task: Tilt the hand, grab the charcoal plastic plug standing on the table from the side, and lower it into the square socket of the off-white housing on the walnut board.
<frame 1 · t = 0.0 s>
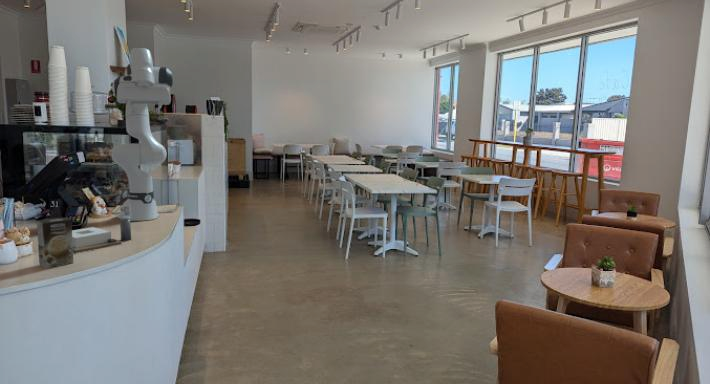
hand: (145, 112, 194), 54 cm above the table, tool tilted 30°, fingers open, 8 cm apart
icecream: (49, 232, 219), on the table
coffee box: (56, 264, 171), on the table
plug: (126, 239, 207), on the table
socket board: (85, 244, 199), on the table
socket housing: (85, 244, 199), resting on socket board
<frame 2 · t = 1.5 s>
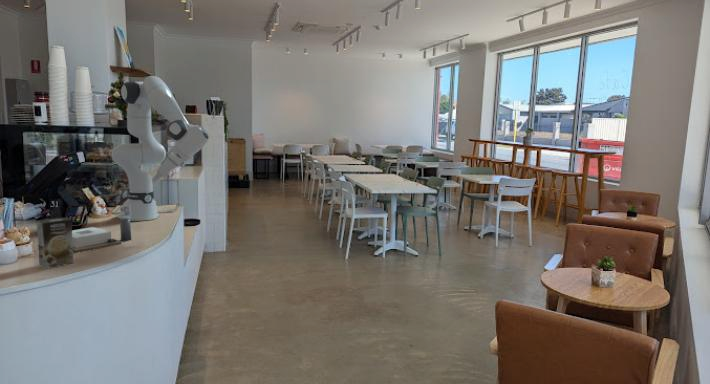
hand: (154, 180, 206), 26 cm above the table, tool tilted 45°, fingers open, 8 cm apart
nothing on the table moved.
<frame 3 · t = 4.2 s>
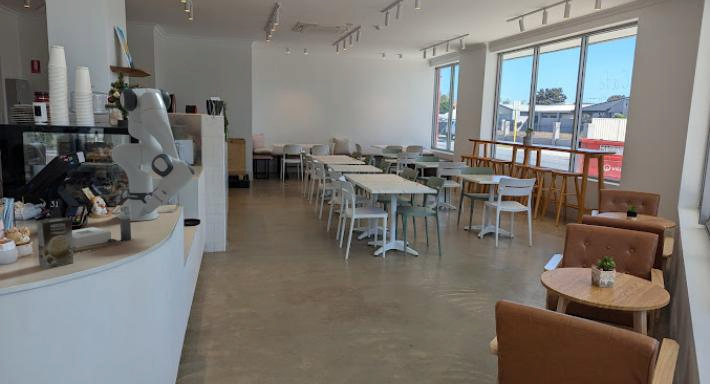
hand: (140, 215, 207), 10 cm above the table, tool tilted 45°, fingers open, 8 cm apart
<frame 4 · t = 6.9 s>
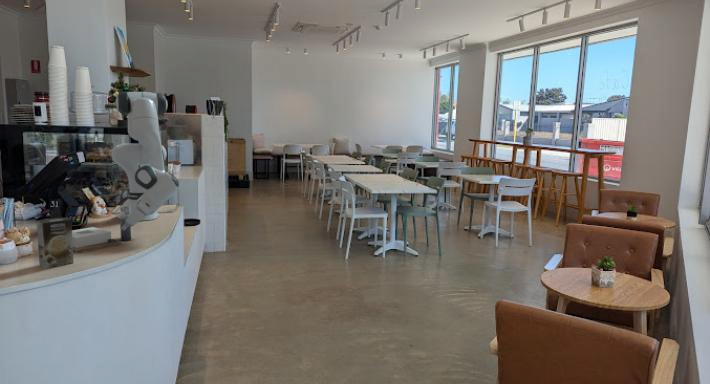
hand: (123, 227, 206), 5 cm above the table, tool tilted 45°, fingers closed on plug, 4 cm apart
plug: (126, 239, 207), on the table, touching gripper
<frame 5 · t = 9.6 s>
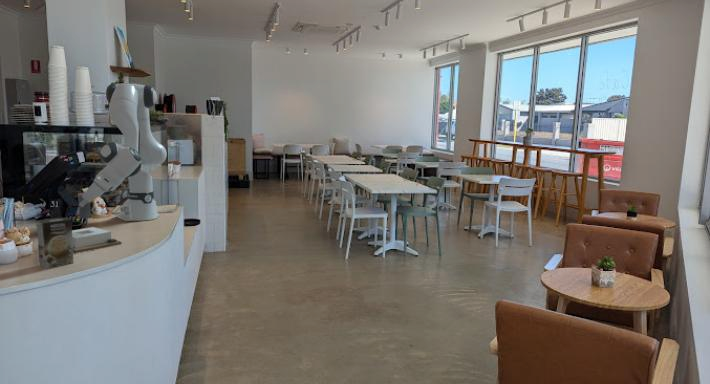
hand: (82, 204, 196), 17 cm above the table, tool tilted 45°, fingers closed on plug, 4 cm apart
plug: (85, 217, 197), point 11 cm above the table, touching gripper
when the fingers open (9 cm above the table, at t = 12.2 s): plug drops 2 cm, resting on socket board.
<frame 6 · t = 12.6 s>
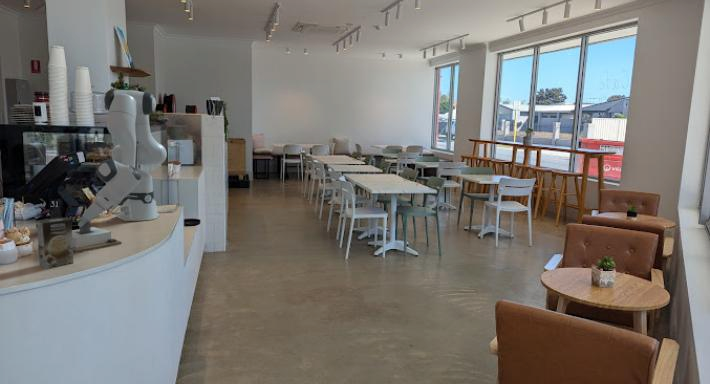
hand: (82, 223, 197), 9 cm above the table, tool tilted 45°, fingers open, 8 cm apart
plug: (85, 241, 199), point 1 cm above the table, touching socket board
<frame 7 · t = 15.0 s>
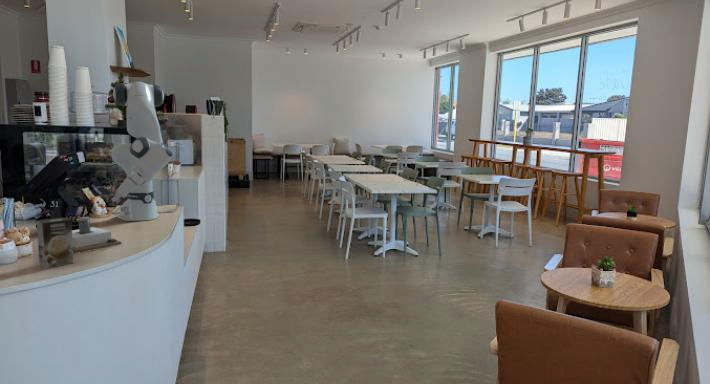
hand: (115, 199, 199), 19 cm above the table, tool tilted 45°, fingers open, 8 cm apart
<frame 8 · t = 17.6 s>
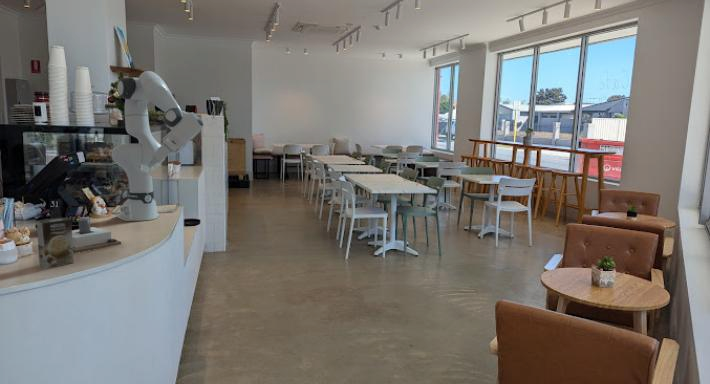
hand: (149, 165, 211), 31 cm above the table, tool tilted 45°, fingers open, 8 cm apart
at the end: plug 0.0 cm off-centre on the socket housing, point 1.0 cm above the socket housing's base; plug tilted 0°; the gripper is holding nothing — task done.
